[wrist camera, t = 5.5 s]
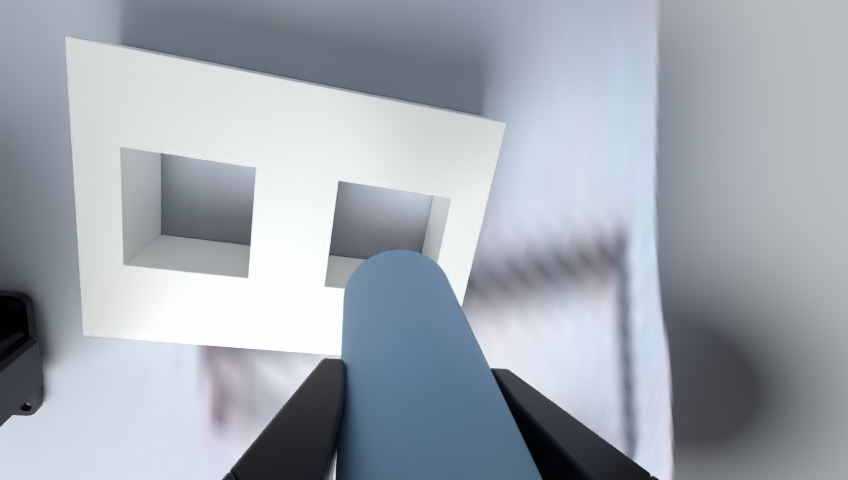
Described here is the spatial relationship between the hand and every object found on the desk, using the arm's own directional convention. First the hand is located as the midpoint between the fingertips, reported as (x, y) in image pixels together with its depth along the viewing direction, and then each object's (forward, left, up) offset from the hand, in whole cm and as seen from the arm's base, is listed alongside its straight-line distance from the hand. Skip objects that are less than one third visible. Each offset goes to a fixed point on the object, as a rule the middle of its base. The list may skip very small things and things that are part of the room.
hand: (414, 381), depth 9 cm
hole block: (-4, 0, -13) cm, 13 cm away
